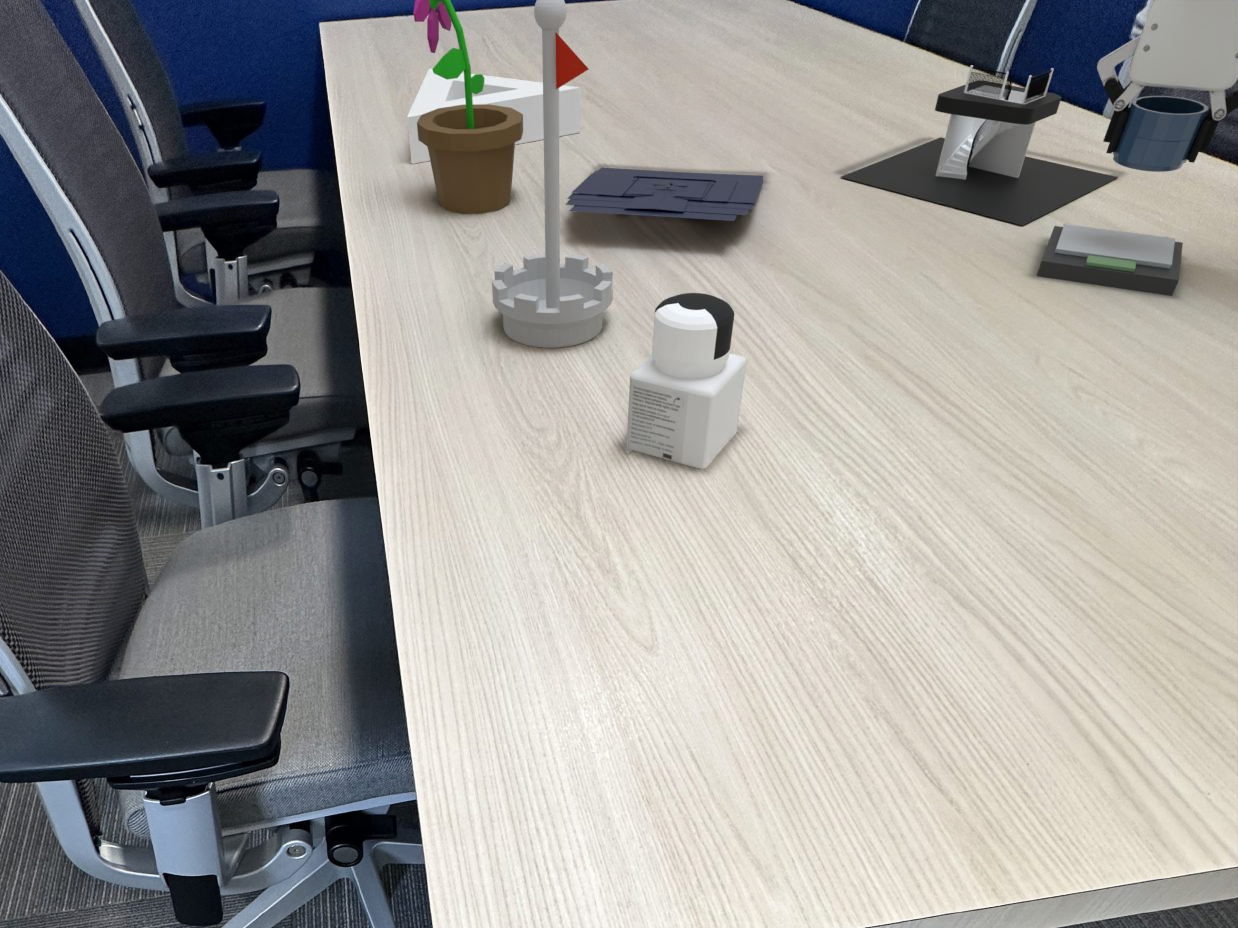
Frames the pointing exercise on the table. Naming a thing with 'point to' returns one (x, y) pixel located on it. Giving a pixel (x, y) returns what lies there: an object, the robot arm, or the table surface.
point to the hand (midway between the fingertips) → (1150, 153)
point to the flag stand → (553, 230)
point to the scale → (1113, 259)
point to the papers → (667, 194)
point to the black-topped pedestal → (987, 155)
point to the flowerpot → (466, 129)
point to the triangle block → (495, 92)
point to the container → (687, 383)
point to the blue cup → (1159, 133)
